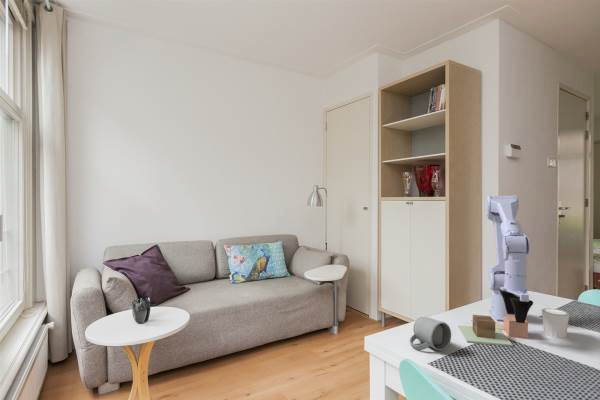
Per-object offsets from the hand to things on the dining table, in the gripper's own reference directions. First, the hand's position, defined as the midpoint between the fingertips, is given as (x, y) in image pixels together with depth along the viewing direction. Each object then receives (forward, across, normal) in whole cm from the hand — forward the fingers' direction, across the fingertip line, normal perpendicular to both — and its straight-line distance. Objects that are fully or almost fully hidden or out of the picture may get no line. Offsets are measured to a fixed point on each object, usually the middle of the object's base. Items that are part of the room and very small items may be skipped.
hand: (515, 318), depth 103 cm
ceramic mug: (+6, +15, -27) cm, 32 cm away
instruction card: (+5, -6, -6) cm, 10 cm away
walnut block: (+5, +4, -10) cm, 12 cm away
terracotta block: (+5, 0, 0) cm, 5 cm away
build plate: (+5, +4, -10) cm, 12 cm away
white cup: (+5, -3, +12) cm, 13 cm away
